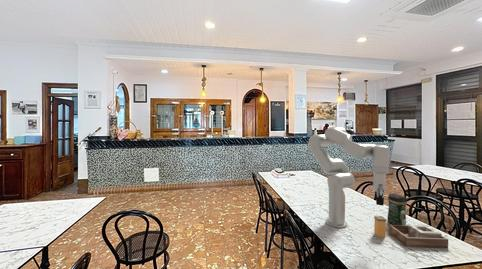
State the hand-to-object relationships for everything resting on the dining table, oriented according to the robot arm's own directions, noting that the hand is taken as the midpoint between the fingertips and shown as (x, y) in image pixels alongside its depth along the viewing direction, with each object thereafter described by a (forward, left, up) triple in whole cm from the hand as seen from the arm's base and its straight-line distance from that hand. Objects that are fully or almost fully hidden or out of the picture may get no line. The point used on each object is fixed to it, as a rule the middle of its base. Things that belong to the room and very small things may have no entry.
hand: (378, 202), depth 120 cm
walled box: (-5, +23, -22) cm, 32 cm away
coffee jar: (-26, +25, -22) cm, 42 cm away
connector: (-9, +6, -22) cm, 24 cm away
